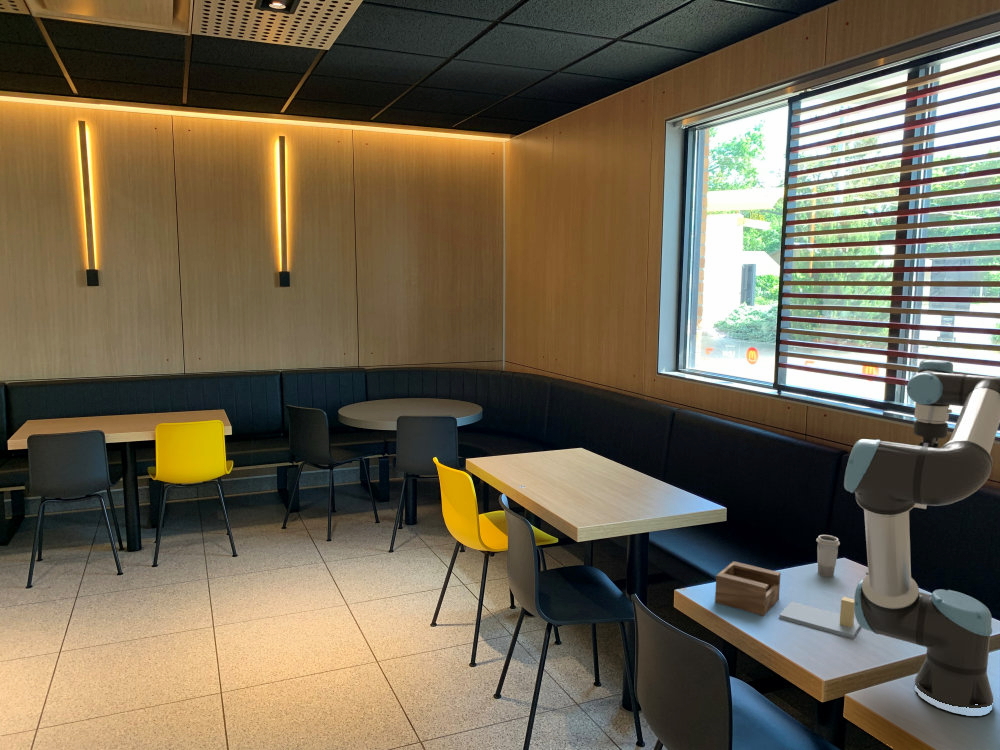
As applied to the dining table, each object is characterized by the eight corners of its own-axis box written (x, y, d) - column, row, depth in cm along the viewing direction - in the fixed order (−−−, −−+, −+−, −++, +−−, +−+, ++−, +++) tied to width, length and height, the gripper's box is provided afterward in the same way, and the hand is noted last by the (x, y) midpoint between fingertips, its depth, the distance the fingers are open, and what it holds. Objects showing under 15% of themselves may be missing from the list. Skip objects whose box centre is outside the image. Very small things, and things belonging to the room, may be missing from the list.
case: (763, 615, 207) (765, 587, 206) (714, 602, 216) (716, 575, 215) (778, 599, 219) (780, 572, 217) (732, 586, 227) (733, 561, 226)
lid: (853, 640, 195) (855, 609, 194) (779, 619, 206) (781, 590, 205) (862, 625, 204) (864, 595, 203) (790, 606, 215) (792, 578, 214)
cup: (842, 576, 237) (845, 539, 235) (828, 580, 233) (831, 543, 232) (822, 568, 243) (825, 533, 241) (809, 572, 239) (811, 536, 238)
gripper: (942, 430, 177) (934, 516, 180) (953, 415, 197) (946, 493, 200) (906, 426, 182) (899, 510, 184) (921, 412, 202) (914, 488, 204)
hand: (923, 501), depth 192 cm, fingers open, 13 cm apart
